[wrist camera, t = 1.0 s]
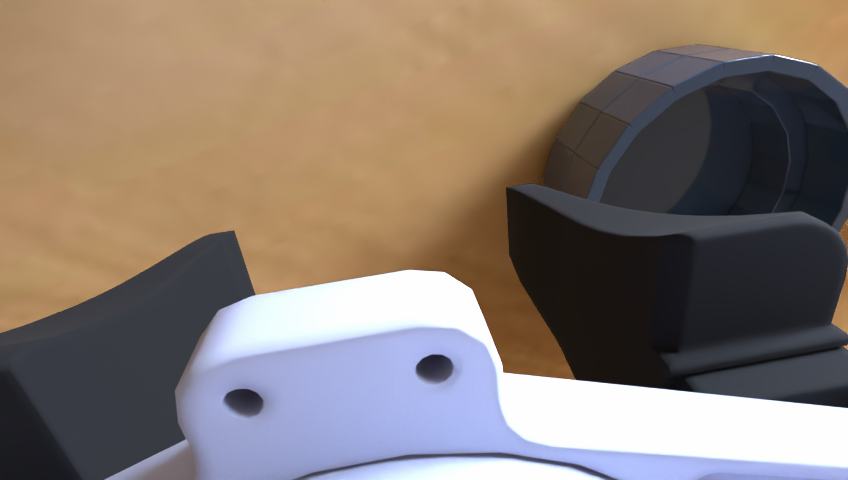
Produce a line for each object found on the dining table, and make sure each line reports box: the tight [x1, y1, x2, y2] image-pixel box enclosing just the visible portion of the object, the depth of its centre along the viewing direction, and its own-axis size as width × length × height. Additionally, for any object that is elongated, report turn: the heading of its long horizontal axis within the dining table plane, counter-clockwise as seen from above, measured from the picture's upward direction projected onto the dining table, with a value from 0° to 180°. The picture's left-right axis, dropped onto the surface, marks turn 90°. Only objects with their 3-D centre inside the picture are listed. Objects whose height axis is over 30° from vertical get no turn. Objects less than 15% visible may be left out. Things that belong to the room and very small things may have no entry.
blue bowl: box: [543, 44, 848, 232], centre depth 22 cm, size 12×12×5 cm
